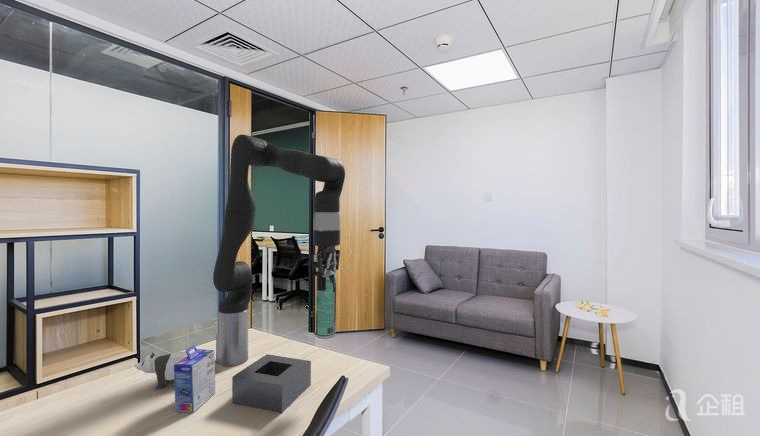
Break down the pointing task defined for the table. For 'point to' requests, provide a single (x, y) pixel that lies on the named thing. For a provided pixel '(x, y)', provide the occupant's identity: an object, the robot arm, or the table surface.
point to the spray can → (326, 308)
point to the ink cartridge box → (194, 379)
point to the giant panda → (161, 366)
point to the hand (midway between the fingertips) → (326, 288)
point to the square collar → (271, 383)
